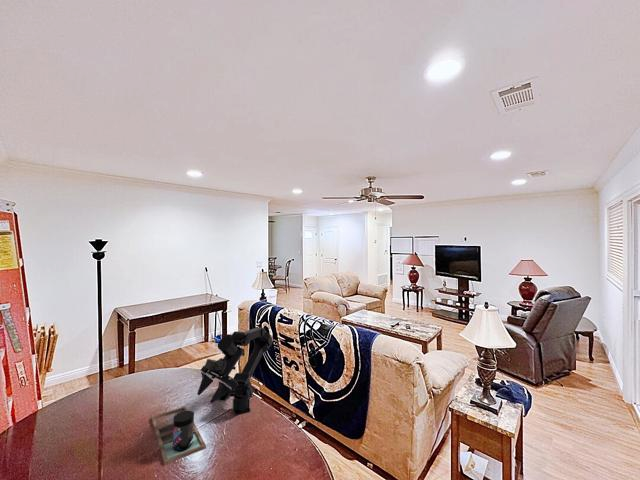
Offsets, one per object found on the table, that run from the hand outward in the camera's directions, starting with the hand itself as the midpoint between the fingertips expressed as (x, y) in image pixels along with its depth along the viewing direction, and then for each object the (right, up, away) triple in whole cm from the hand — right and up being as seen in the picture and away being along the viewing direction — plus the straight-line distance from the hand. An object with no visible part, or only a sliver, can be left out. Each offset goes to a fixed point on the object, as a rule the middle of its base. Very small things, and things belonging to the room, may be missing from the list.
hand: (204, 398), depth 107 cm
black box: (-2, -15, +29) cm, 33 cm away
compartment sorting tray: (-11, -14, +1) cm, 17 cm away
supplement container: (-5, -13, -7) cm, 16 cm away
